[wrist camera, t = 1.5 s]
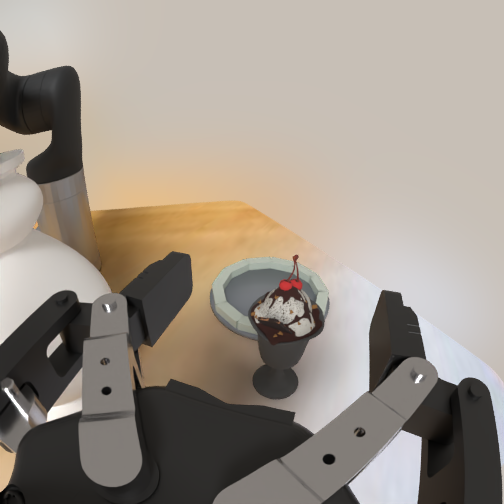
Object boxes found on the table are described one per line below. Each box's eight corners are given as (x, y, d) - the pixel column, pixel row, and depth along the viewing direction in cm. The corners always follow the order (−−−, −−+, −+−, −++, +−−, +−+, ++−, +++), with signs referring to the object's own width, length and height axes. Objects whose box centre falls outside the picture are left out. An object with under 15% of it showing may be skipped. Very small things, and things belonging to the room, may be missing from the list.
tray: (218, 350, 35) (217, 340, 34) (205, 269, 49) (204, 260, 48) (347, 330, 38) (351, 321, 37) (305, 260, 52) (306, 252, 51)
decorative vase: (6, 450, 18) (-139, 243, 5) (15, 337, 32) (-49, 165, 19) (153, 431, 25) (67, 167, 12) (126, 316, 38) (91, 125, 25)
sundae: (289, 351, 35) (308, 241, 27) (315, 394, 30) (352, 284, 22) (236, 366, 33) (238, 252, 25) (258, 414, 28) (272, 304, 20)
